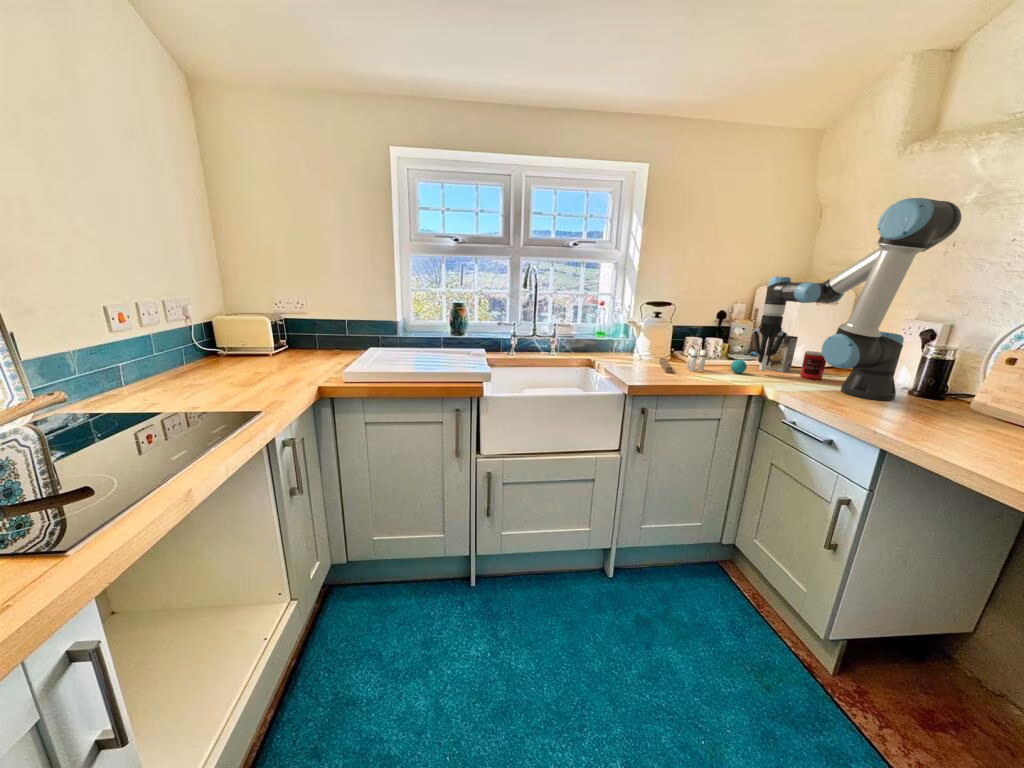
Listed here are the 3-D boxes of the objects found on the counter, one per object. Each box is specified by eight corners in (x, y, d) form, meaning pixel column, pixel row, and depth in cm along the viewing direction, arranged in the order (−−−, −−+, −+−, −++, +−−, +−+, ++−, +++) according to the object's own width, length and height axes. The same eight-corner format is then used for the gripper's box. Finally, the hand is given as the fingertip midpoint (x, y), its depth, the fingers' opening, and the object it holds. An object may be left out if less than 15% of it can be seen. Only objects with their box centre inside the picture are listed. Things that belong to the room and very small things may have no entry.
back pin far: (692, 369, 183) (695, 349, 181) (686, 368, 184) (689, 349, 182) (691, 368, 186) (694, 348, 184) (685, 367, 186) (688, 348, 184)
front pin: (704, 371, 180) (707, 351, 178) (698, 370, 181) (701, 350, 178) (702, 370, 183) (706, 350, 180) (697, 369, 183) (700, 349, 181)
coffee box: (762, 368, 191) (769, 333, 187) (771, 367, 194) (777, 333, 190) (782, 372, 183) (790, 336, 179) (791, 371, 186) (798, 336, 182)
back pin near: (695, 371, 179) (698, 351, 176) (689, 371, 179) (692, 350, 177) (694, 370, 181) (697, 350, 179) (688, 370, 181) (691, 350, 179)
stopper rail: (671, 373, 174) (672, 367, 173) (665, 372, 174) (666, 367, 174) (664, 363, 195) (665, 358, 194) (659, 362, 195) (659, 357, 195)
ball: (747, 375, 175) (749, 361, 174) (731, 374, 176) (734, 360, 175) (742, 372, 181) (744, 358, 179) (727, 371, 182) (730, 357, 181)
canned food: (814, 376, 177) (820, 351, 175) (826, 381, 170) (832, 355, 167) (795, 375, 178) (801, 350, 175) (806, 380, 170) (812, 354, 168)
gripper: (786, 315, 172) (775, 369, 179) (752, 313, 175) (742, 367, 181) (794, 316, 165) (782, 373, 171) (758, 314, 168) (748, 370, 174)
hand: (761, 370), depth 176 cm, fingers closed
